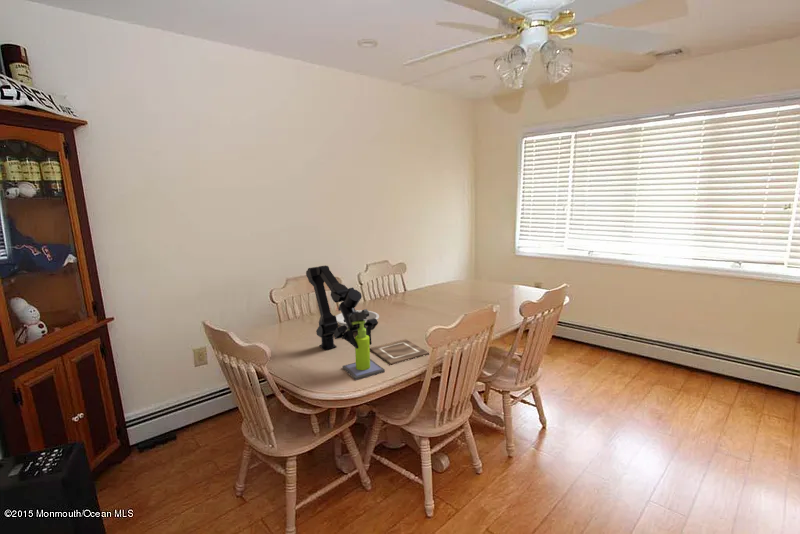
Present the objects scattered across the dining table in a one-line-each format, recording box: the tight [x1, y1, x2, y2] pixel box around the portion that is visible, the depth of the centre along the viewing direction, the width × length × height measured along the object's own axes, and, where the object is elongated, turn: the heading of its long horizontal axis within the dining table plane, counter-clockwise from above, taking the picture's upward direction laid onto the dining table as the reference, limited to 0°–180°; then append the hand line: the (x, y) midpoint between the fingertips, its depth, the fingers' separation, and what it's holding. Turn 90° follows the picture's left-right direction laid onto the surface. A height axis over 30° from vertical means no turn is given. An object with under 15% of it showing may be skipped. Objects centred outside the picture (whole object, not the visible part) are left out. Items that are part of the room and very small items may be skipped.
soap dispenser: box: [352, 320, 371, 370], centre depth 161 cm, size 6×7×20 cm
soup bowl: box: [335, 309, 380, 332], centre depth 213 cm, size 24×24×7 cm
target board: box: [370, 338, 430, 365], centre depth 181 cm, size 20×20×1 cm
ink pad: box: [341, 358, 386, 381], centre depth 163 cm, size 13×13×1 cm
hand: (364, 346), depth 160 cm, fingers closed on soap dispenser, 6 cm apart
